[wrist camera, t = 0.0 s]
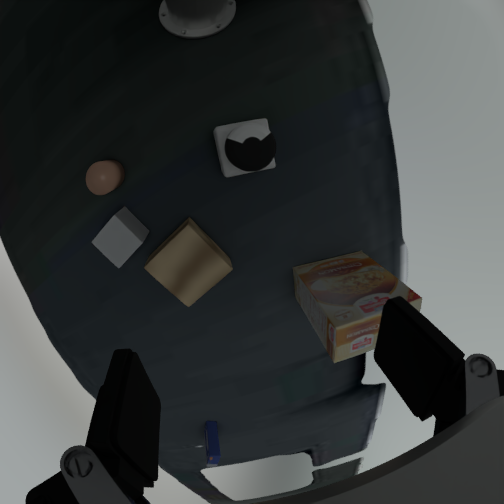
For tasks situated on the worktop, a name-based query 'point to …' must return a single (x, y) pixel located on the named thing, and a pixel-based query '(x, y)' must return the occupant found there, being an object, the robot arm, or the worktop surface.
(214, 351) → the worktop surface
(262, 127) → the medicine bottle
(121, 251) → the grey cube
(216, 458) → the walkman
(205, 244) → the oak block
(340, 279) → the coffeecake box
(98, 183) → the terracotta cylinder
